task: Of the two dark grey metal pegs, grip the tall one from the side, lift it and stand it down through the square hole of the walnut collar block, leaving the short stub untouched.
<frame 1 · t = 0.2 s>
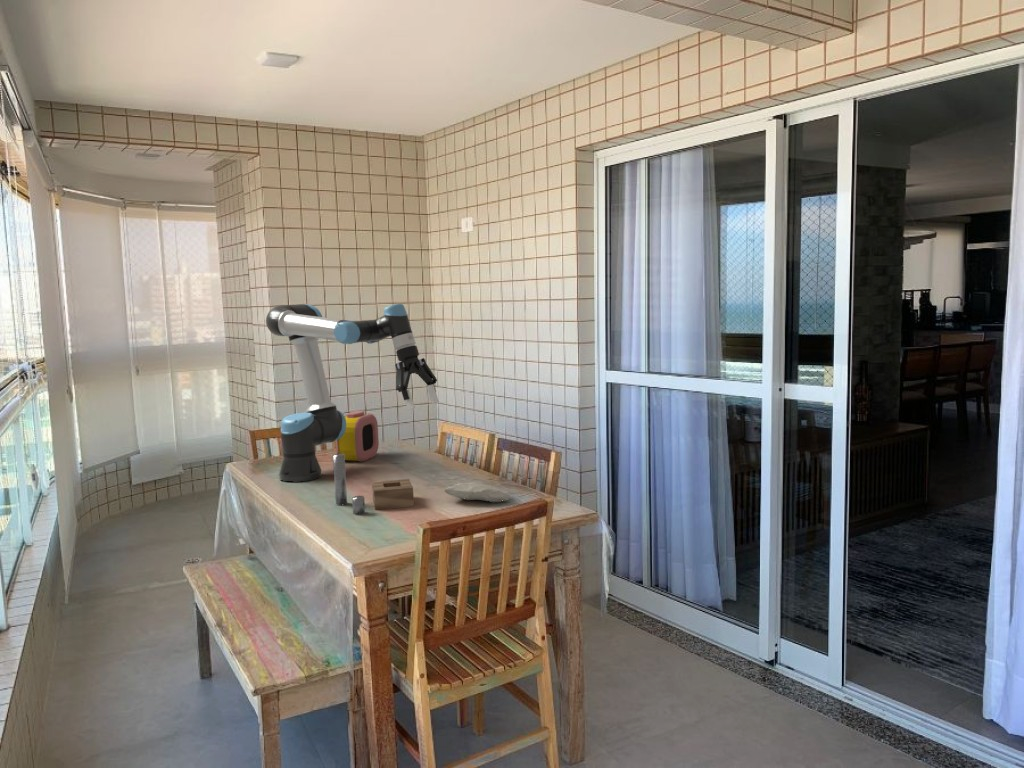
hand: (423, 405, 269), 27 cm above the table, tool tilted 20°, fingers open, 13 cm apart
rock: (472, 500, 248), on the table
short peg: (359, 513, 236), on the table
tall peg: (341, 503, 248), on the table
alarm clock: (358, 459, 315), on the table
collar block: (393, 503, 246), on the table
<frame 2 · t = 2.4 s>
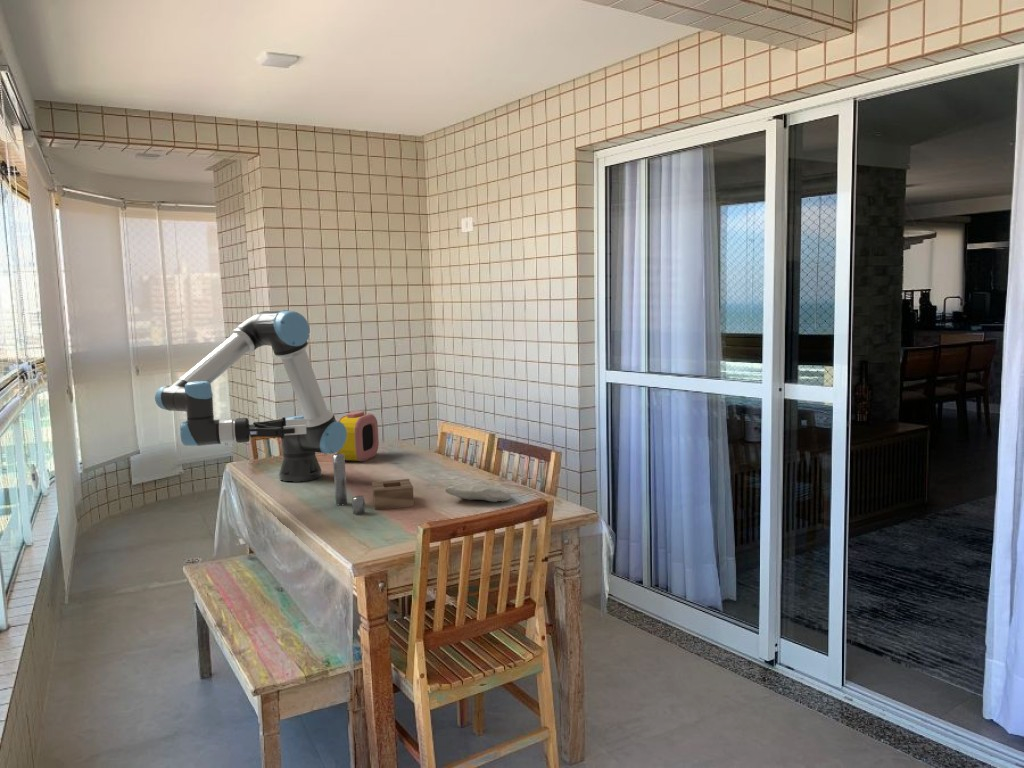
hand: (306, 425, 242), 26 cm above the table, tool horizontal, fingers open, 13 cm apart
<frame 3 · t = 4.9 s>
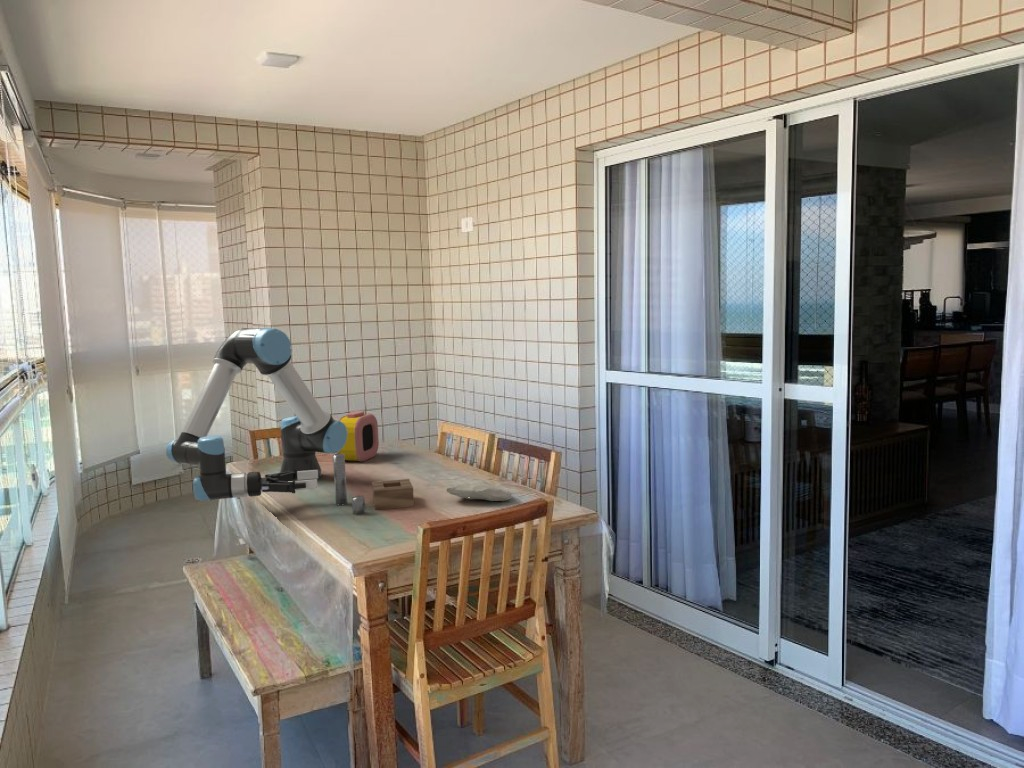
hand: (317, 478, 244), 9 cm above the table, tool horizontal, fingers open, 13 cm apart
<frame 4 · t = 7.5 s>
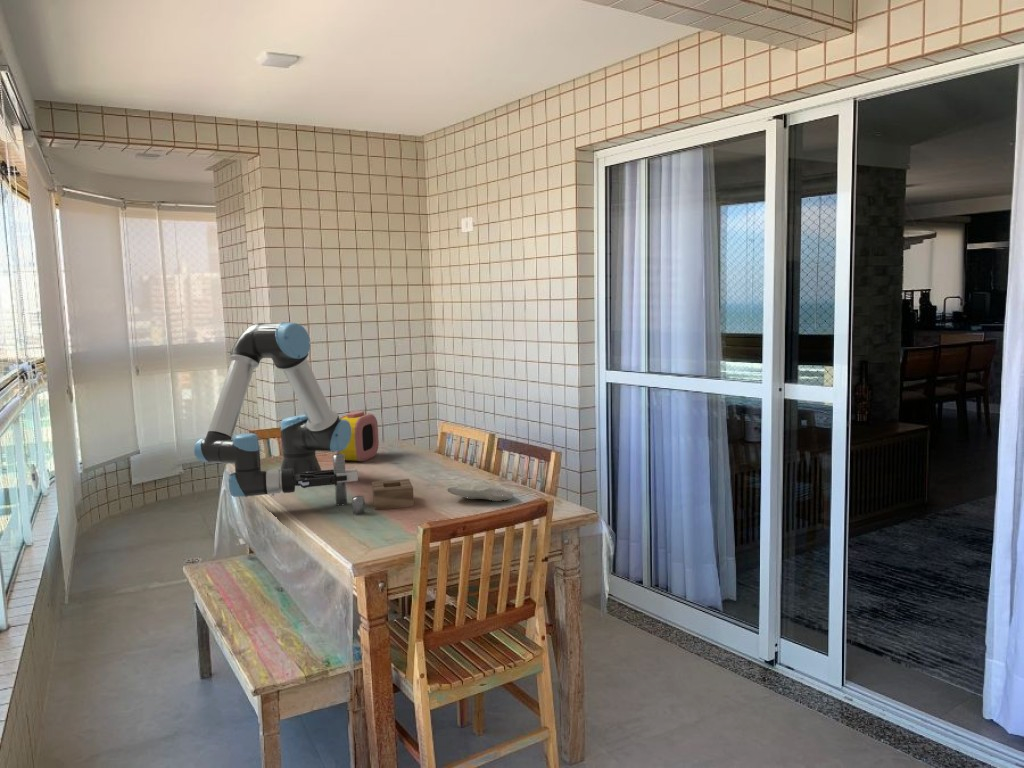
hand: (357, 474, 248), 9 cm above the table, tool horizontal, fingers closed on tall peg, 3 cm apart
tall peg: (341, 503, 248), on the table, touching gripper
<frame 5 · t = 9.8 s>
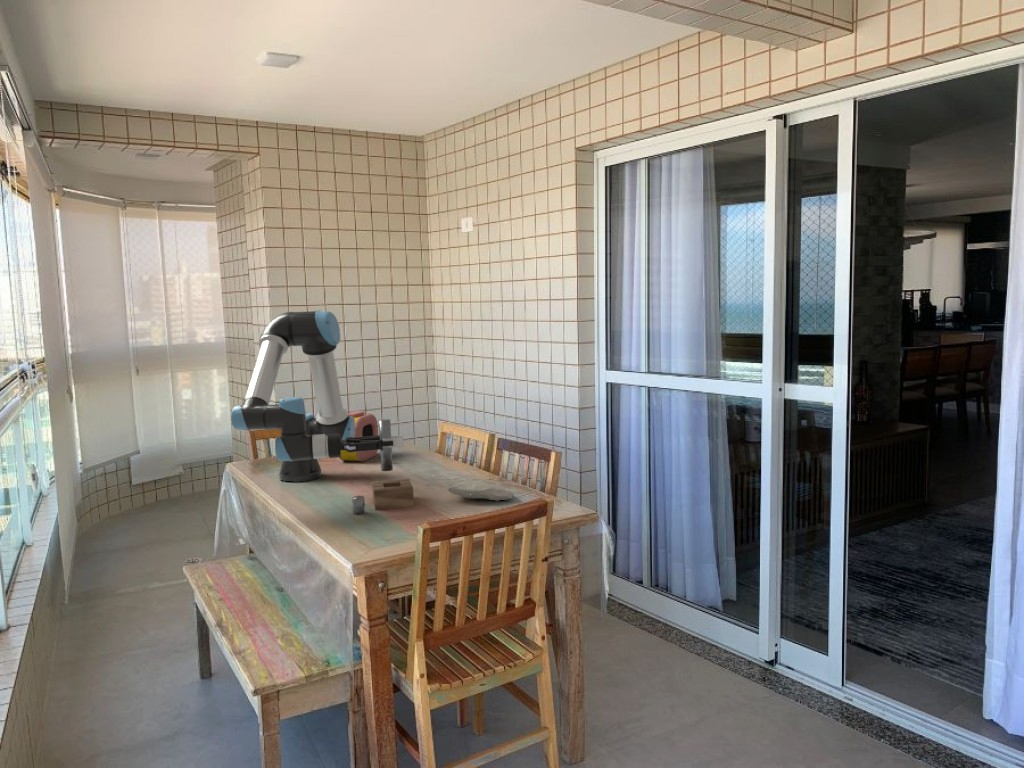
hand: (403, 440, 244), 20 cm above the table, tool horizontal, fingers closed on tall peg, 3 cm apart
tall peg: (387, 469, 244), point 11 cm above the table, touching gripper
when the fingers open (12 cm above the table, at t = 12.0 s): tall peg drops 3 cm, resting in collar block.
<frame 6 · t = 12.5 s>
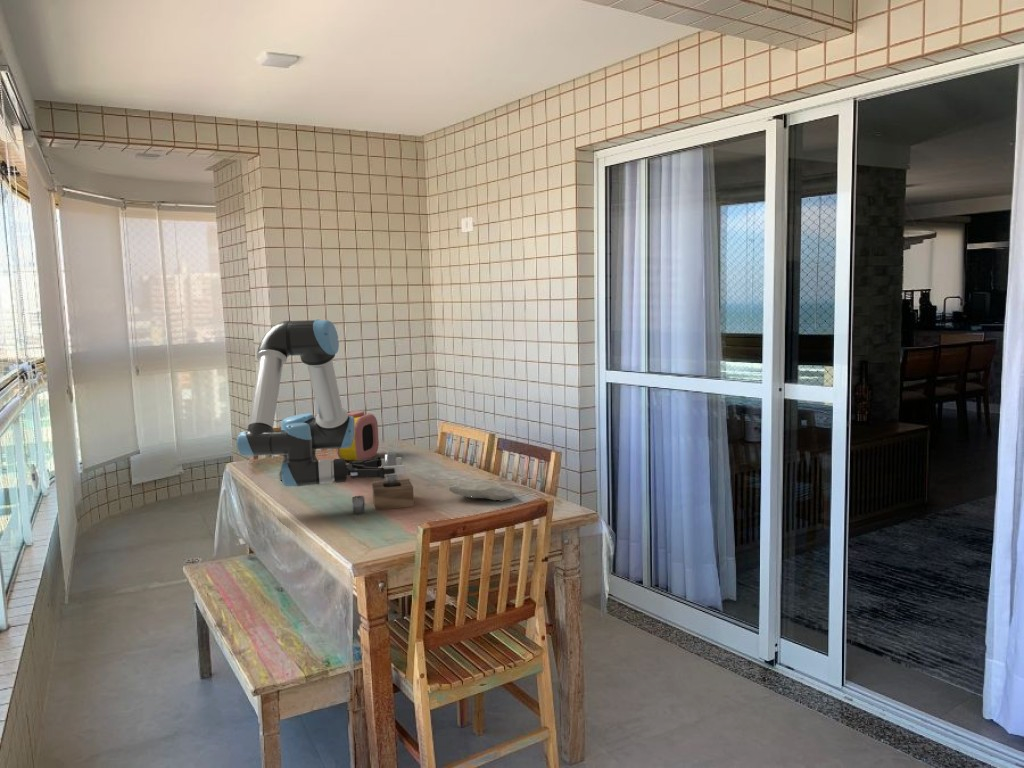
hand: (403, 465, 246), 12 cm above the table, tool horizontal, fingers open, 11 cm apart
tall peg: (392, 503, 246), resting in collar block
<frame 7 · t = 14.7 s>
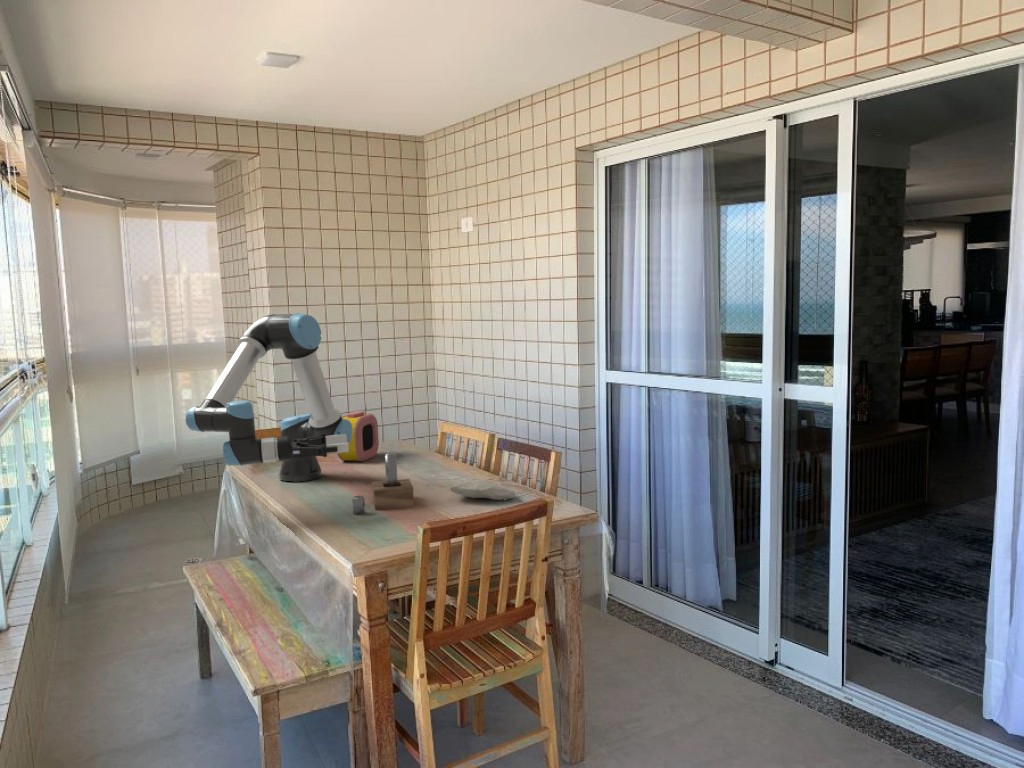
hand: (347, 442, 242), 20 cm above the table, tool horizontal, fingers open, 13 cm apart
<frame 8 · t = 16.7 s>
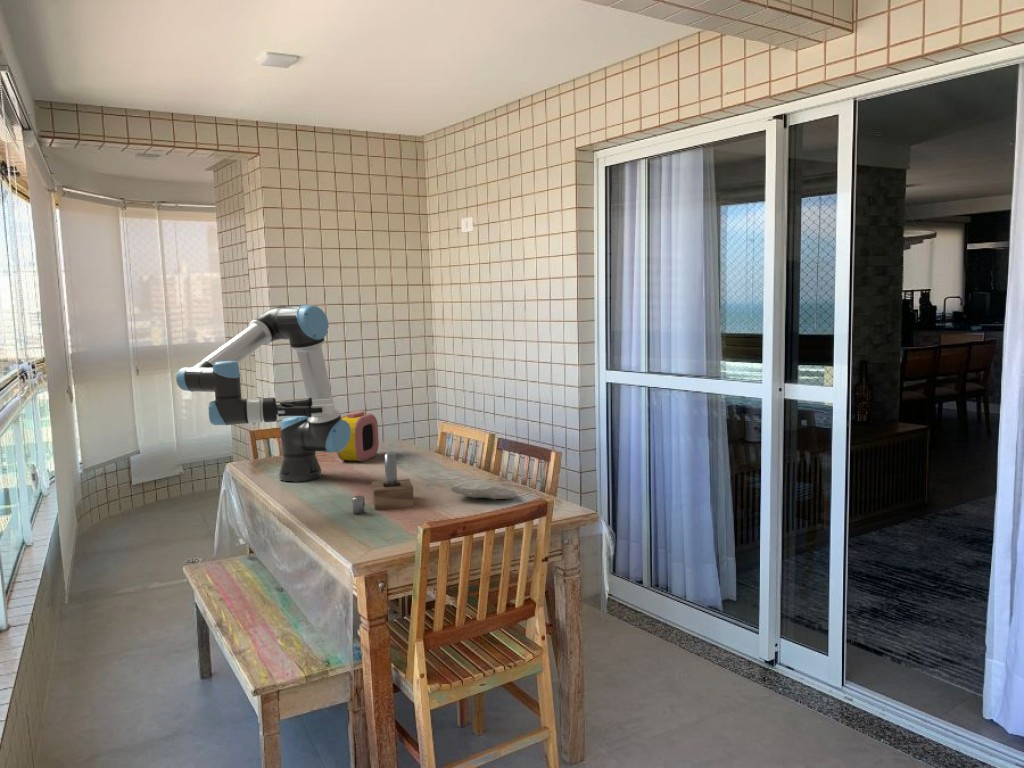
hand: (333, 405, 243), 32 cm above the table, tool horizontal, fingers open, 13 cm apart
at the end: tall peg 0.1 cm off-centre on the collar block, point 0.0 cm above the collar block's base; tall peg tilted 0°; the gripper is holding nothing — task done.
